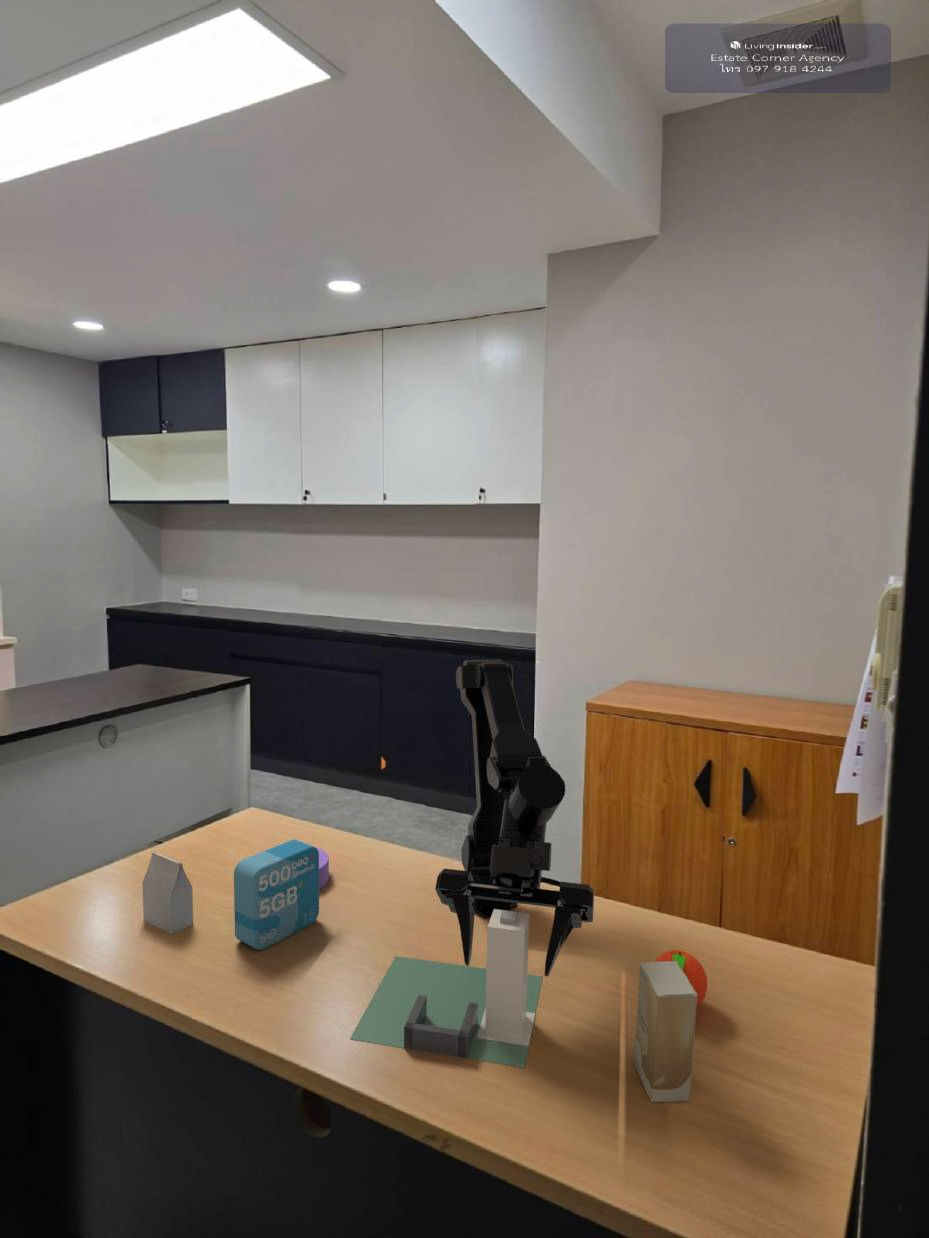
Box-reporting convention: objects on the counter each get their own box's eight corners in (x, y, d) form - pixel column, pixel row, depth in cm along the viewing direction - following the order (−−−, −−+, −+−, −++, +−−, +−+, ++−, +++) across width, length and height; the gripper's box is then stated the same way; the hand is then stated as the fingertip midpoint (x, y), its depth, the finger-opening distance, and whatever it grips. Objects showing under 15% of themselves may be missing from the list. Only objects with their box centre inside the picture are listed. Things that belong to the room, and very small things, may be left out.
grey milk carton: (171, 934, 110) (169, 868, 109) (143, 920, 114) (141, 856, 113) (193, 924, 114) (191, 859, 112) (165, 910, 117) (163, 848, 116)
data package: (254, 954, 106) (253, 871, 104) (234, 943, 108) (232, 862, 107) (319, 920, 115) (319, 843, 114) (299, 910, 118) (299, 836, 117)
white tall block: (491, 1011, 92) (494, 904, 91) (526, 1016, 92) (529, 908, 90) (485, 1033, 88) (487, 921, 87) (521, 1038, 87) (524, 926, 86)
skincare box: (632, 1062, 86) (637, 959, 84) (670, 1060, 86) (676, 958, 84) (651, 1105, 79) (657, 994, 78) (692, 1103, 80) (698, 993, 78)
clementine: (706, 1034, 91) (709, 978, 90) (645, 1022, 93) (648, 967, 92) (705, 995, 98) (708, 943, 97) (650, 985, 100) (652, 934, 99)
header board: (395, 962, 104) (395, 938, 104) (542, 983, 100) (543, 958, 100) (349, 1046, 87) (349, 1018, 87) (524, 1076, 83) (525, 1045, 83)
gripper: (440, 805, 93) (414, 938, 83) (596, 819, 89) (588, 961, 80) (453, 841, 101) (431, 966, 92) (596, 856, 98) (589, 988, 88)
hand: (506, 969), depth 88 cm, fingers open, 9 cm apart
